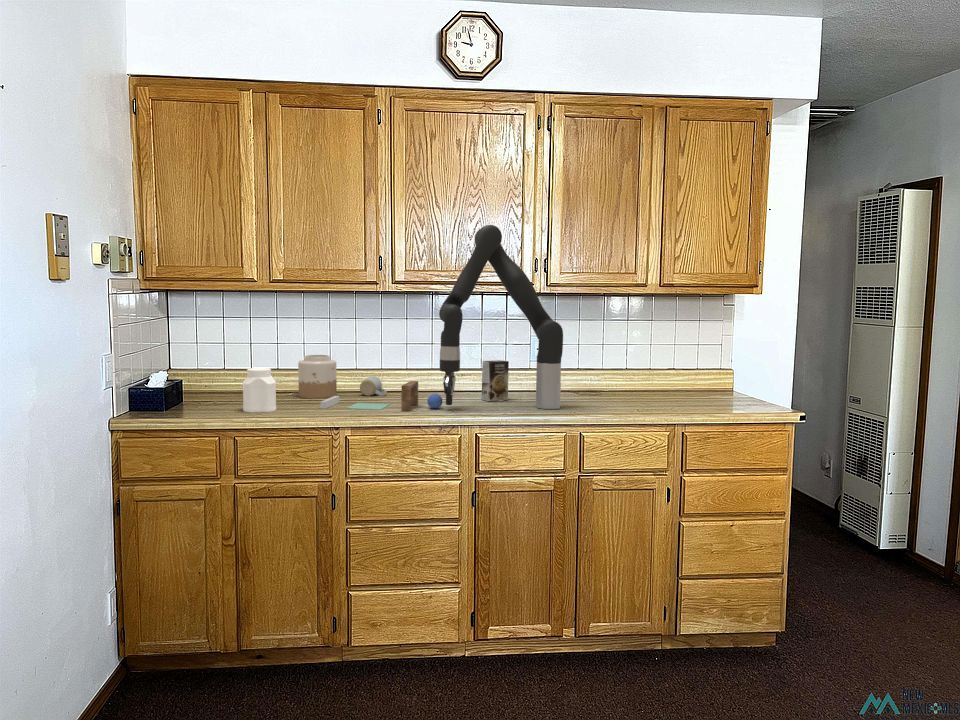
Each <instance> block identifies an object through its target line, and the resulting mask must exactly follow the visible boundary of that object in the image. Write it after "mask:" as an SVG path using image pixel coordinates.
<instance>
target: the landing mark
mask: <svg viewBox="0 0 960 720" xmlns="http://www.w3.org/2000/svg"><path fill="white" fill-rule="evenodd" d="M390 405H391V404H390V403H373V402H372V403H367V402H357V403H354V404H352V405H351V406H348V407H347V408H346V409H347V410H370V411H371V410H375V411H377V410H378V411H381V410H383V409H384V408H386V407H388V406H390Z"/></svg>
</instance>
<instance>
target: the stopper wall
mask: <svg viewBox="0 0 960 720" xmlns="http://www.w3.org/2000/svg"><path fill="white" fill-rule="evenodd" d="M340 398H341V397H340V395H336V396H333V397H331V398H325V399H322V401H320V403H319V404H320V405H319V406H320V409H321V410H322V409H328V408H330V407H333V406H335V405H337V404H339V403H341V402H340V401H341V399H340Z"/></svg>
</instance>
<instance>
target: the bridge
mask: <svg viewBox="0 0 960 720" xmlns="http://www.w3.org/2000/svg"><path fill="white" fill-rule="evenodd" d="M400 398H401V403H400V404H401V405H400V406H401V409H400V410H401V412H411V410H412V408H411V407H417V406H419V380H410V381H408V382H406V383H403V384H401V397H400Z"/></svg>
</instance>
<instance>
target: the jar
mask: <svg viewBox="0 0 960 720" xmlns="http://www.w3.org/2000/svg"><path fill="white" fill-rule="evenodd" d="M246 373H247V374H246V375H247V376H246V377H245V379H244V380H243V382H242V398H243V399H242V400H243V404H242V405H243V406H242V411H243V412H245V413H271V412H275V411H276V410H277V395H276V394H277V393H276V392H277V391H276V389H277V388H276V387H277V381H276V380H275V379H274V377H273V376H272V368H268V367H253V368H252V367H251V368H247V372H246Z"/></svg>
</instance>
